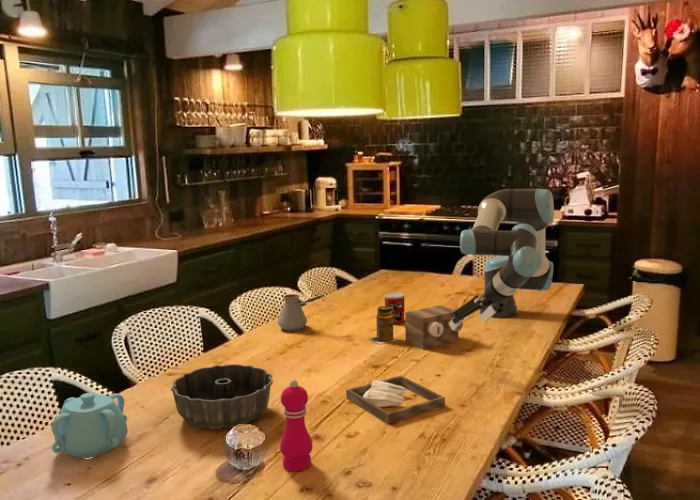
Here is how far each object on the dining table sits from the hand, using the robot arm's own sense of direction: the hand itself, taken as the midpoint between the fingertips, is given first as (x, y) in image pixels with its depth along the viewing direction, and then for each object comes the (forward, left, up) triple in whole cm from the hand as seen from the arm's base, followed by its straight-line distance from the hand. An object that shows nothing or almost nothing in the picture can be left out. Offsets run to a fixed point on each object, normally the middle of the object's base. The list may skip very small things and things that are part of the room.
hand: (467, 322), depth 200 cm
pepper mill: (+76, +27, -13) cm, 82 cm away
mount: (-4, -21, -13) cm, 26 cm away
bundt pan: (+80, -7, -13) cm, 81 cm away
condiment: (+9, -35, -13) cm, 38 cm away
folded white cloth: (+39, +10, -14) cm, 43 cm away
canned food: (-8, -51, -13) cm, 53 cm away
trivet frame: (+38, +12, -13) cm, 42 cm away
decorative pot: (+113, -8, -13) cm, 114 cm away
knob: (0, -22, -9) cm, 24 cm away
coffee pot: (+27, -63, -13) cm, 70 cm away
